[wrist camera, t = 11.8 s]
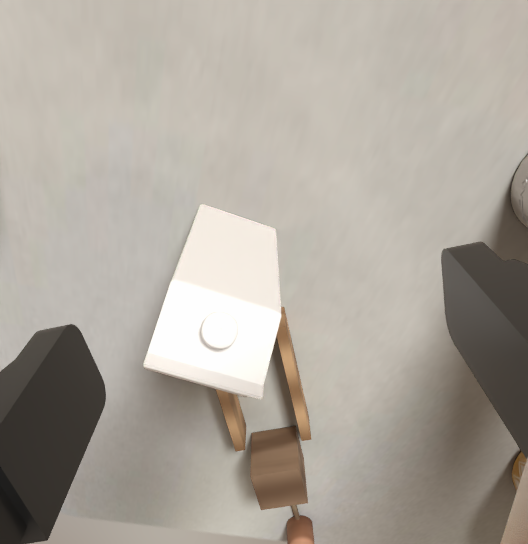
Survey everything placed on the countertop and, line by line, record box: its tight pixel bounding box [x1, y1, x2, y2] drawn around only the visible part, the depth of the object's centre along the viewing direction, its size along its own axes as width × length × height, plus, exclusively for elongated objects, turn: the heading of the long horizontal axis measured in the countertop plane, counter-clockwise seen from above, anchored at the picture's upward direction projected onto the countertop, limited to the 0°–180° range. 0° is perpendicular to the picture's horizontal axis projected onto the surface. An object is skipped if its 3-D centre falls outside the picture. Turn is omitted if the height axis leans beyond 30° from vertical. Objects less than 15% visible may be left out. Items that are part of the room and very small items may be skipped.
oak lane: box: [216, 307, 311, 451], centre depth 49 cm, size 14×8×4 cm, turn 12°
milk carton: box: [143, 204, 282, 400], centre depth 36 cm, size 7×7×19 cm
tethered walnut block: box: [250, 426, 314, 544], centre depth 55 cm, size 18×5×6 cm, turn 12°
